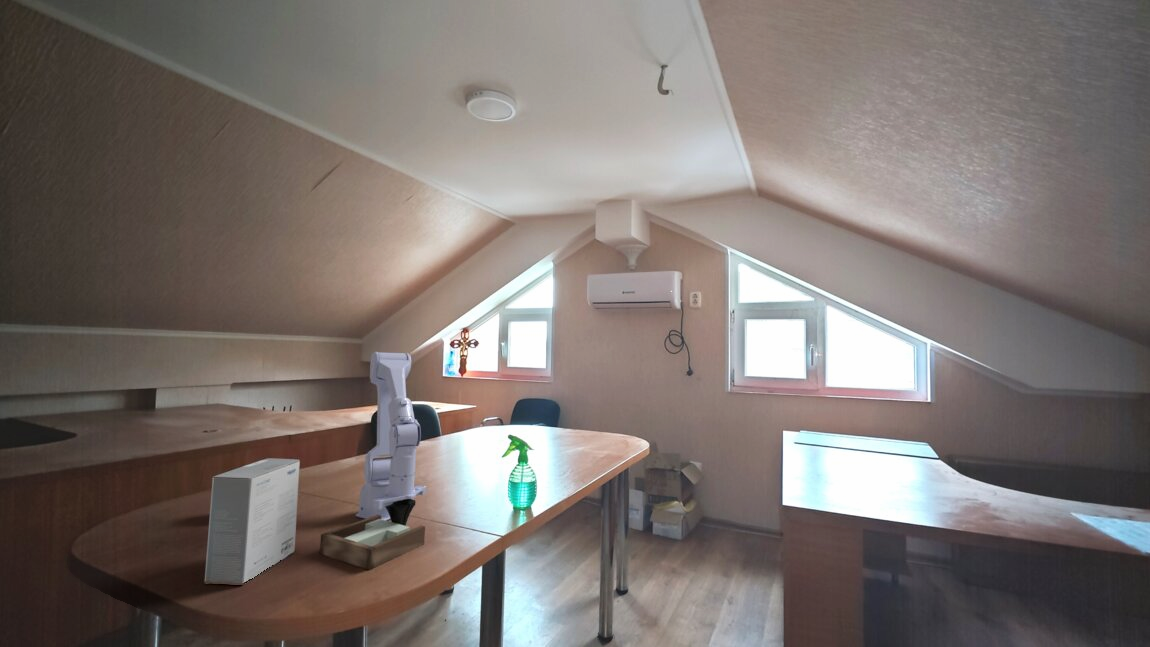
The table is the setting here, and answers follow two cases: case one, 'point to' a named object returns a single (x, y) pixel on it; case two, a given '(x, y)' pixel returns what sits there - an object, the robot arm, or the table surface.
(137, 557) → the table surface
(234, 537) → the hard drive box
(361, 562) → the wooden tray
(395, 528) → the t block
